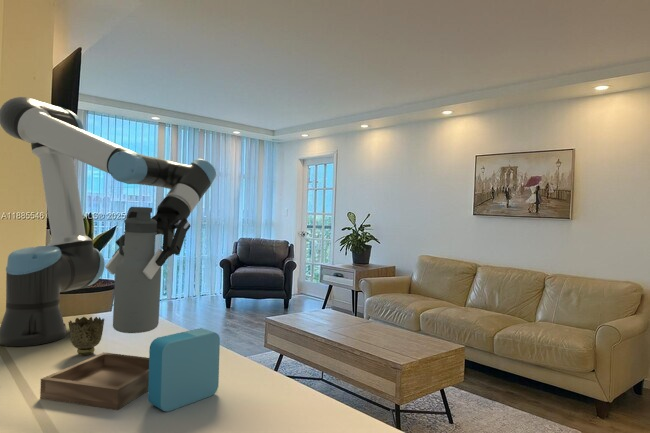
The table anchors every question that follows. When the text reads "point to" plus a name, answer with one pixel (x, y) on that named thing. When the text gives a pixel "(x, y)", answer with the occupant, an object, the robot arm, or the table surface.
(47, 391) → the walnut tray
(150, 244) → the water bottle
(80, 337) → the cup
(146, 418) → the table surface
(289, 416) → the table surface
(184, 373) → the data package
